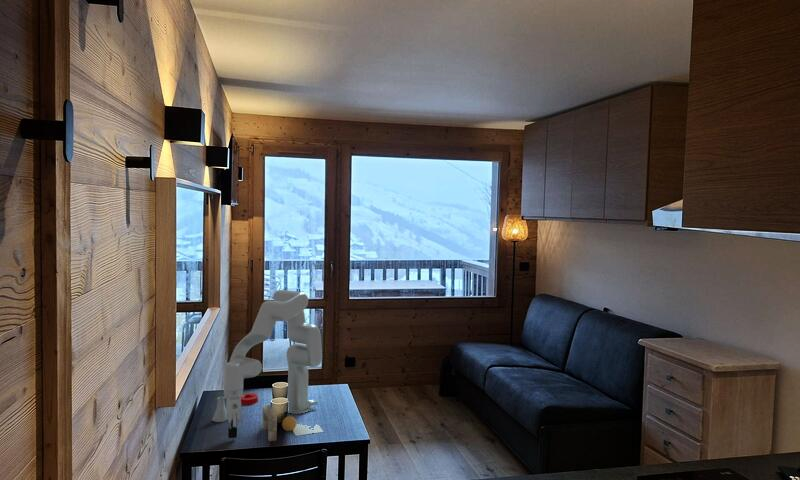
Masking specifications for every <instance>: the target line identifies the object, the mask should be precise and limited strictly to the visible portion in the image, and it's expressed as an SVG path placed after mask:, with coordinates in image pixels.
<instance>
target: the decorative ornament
mask: <svg viewBox="0 0 800 480" xmlns="http://www.w3.org/2000/svg"><path fill="white" fill-rule="evenodd" d="M257 403H259V395H258V394H257V393H252V392H249V393H248V392H247V393H243V397H241V406H242V405H243V406H251V405H255V404H257Z"/></svg>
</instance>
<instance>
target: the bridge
mask: <svg viewBox="0 0 800 480" xmlns="http://www.w3.org/2000/svg"><path fill="white" fill-rule="evenodd" d="M261 426H262V430H264V431H266V430H267V434H268V436H267V440H268V442H275V441H277V437H278V436H277V432H278V429H277V427H278V416H277V415H276V413H275V412H274V410H273V408H272V406H271V405H270V404H269V405H262V425H261Z"/></svg>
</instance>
